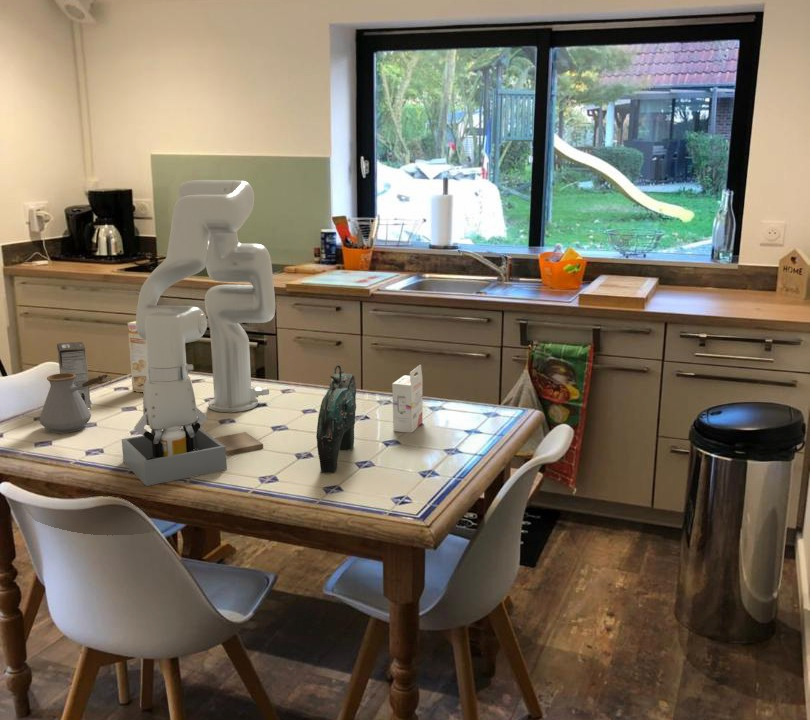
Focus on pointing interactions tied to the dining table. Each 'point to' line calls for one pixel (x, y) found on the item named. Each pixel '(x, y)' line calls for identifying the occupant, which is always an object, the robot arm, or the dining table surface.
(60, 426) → the coffee pot
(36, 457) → the dining table surface
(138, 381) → the coffeecake box
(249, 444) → the walnut board
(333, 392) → the green animal figurine
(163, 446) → the supplement bottle
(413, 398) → the ink cartridge box
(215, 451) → the bin
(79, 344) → the coffee box
